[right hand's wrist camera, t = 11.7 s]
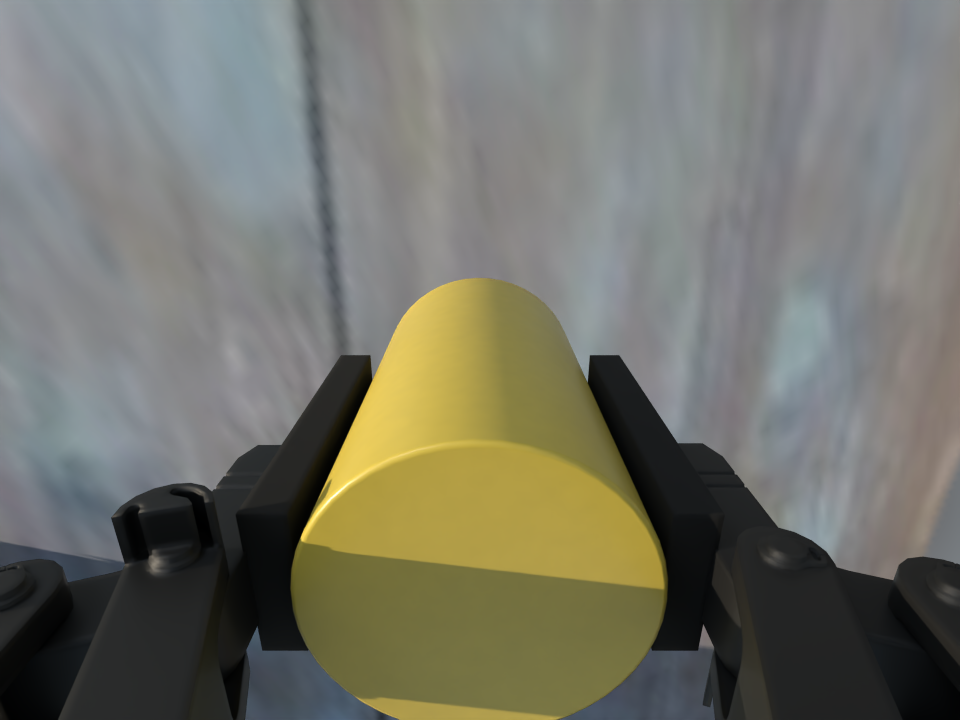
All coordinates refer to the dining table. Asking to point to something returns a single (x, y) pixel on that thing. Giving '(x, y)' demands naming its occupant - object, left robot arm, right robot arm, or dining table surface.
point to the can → (479, 526)
